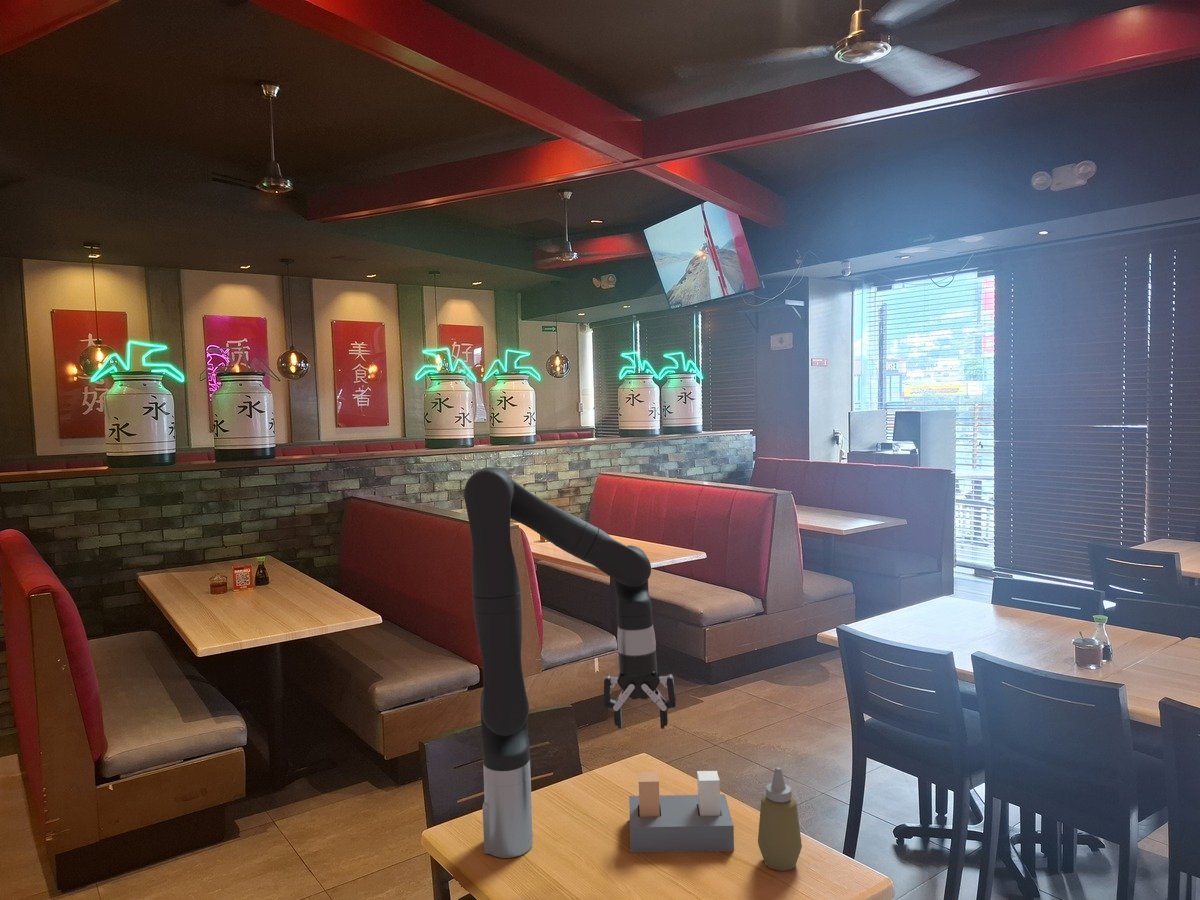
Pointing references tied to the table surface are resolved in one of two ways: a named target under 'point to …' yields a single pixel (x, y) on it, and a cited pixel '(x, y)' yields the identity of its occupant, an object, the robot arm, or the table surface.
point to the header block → (680, 827)
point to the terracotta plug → (648, 794)
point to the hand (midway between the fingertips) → (641, 727)
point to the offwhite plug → (708, 793)
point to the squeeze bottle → (779, 826)
